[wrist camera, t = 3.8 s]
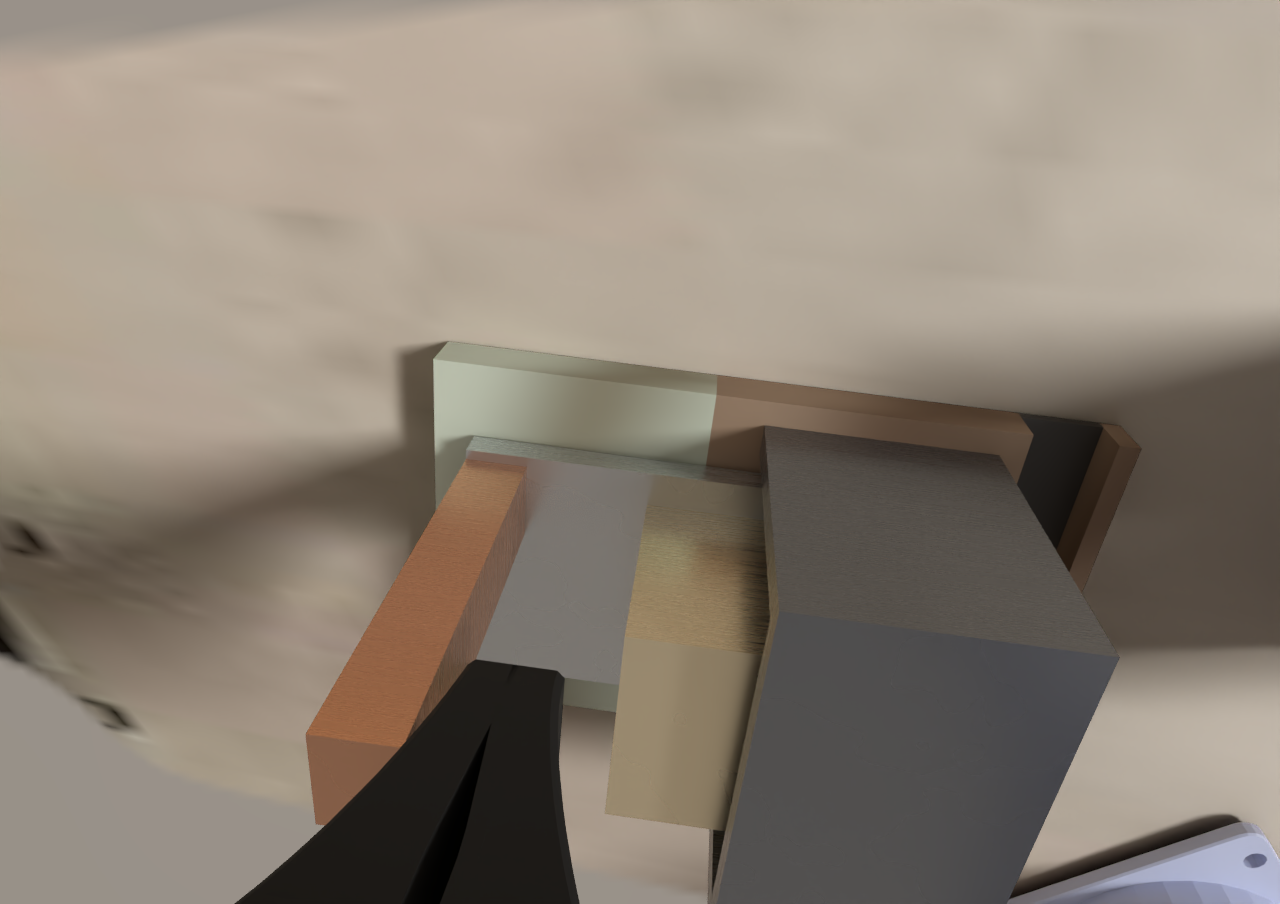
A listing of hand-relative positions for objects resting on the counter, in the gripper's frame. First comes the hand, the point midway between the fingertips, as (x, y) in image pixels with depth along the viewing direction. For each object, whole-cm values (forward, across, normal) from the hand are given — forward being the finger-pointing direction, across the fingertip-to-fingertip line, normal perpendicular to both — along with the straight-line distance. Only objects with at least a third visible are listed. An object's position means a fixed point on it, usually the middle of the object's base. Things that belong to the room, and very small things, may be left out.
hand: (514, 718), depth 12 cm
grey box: (+6, -6, +2) cm, 9 cm away
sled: (+6, -2, +2) cm, 7 cm away
